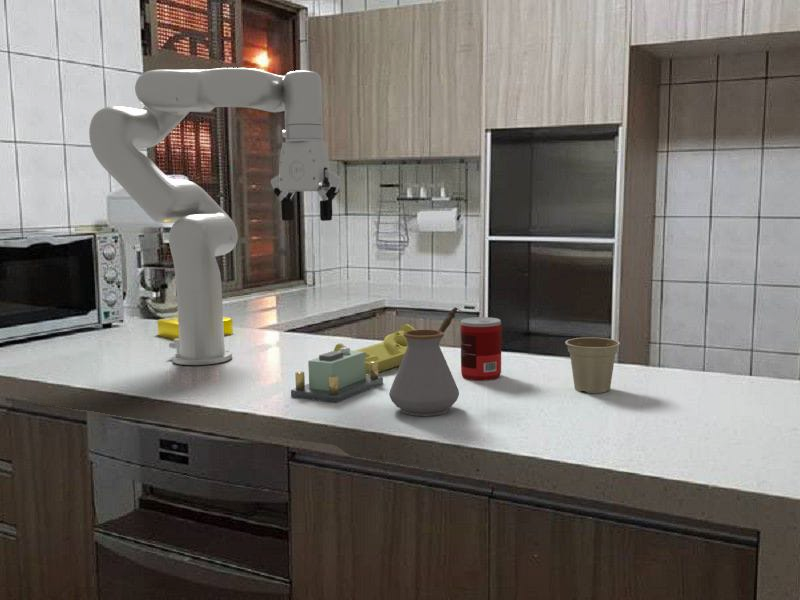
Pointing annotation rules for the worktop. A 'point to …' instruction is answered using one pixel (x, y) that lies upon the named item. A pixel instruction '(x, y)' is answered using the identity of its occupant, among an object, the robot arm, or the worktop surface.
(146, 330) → the worktop surface
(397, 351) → the plastic component
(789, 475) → the worktop surface
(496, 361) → the canned food
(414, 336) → the coffee pot
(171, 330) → the element tile
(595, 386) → the flower pot
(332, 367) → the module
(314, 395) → the chassis
